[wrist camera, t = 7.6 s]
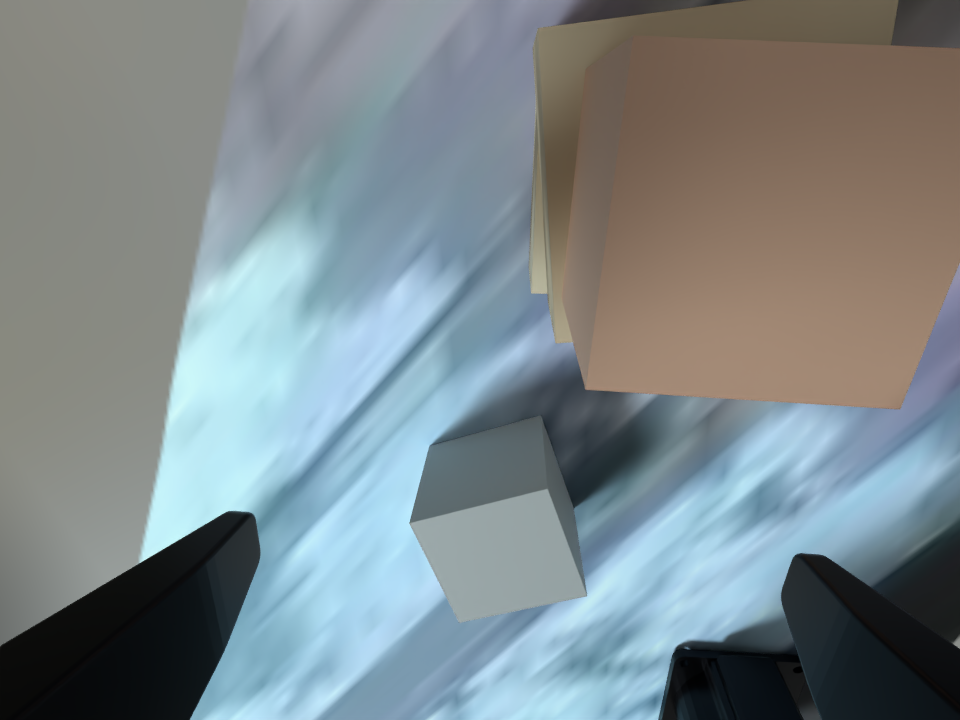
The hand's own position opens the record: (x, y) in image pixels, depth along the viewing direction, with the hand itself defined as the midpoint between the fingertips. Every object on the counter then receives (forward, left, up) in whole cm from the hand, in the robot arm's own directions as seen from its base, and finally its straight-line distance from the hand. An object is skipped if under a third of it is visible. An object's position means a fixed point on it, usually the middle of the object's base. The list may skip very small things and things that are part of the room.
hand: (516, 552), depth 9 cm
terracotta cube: (+5, -4, -6) cm, 9 cm away
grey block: (-8, 0, -13) cm, 15 cm away
